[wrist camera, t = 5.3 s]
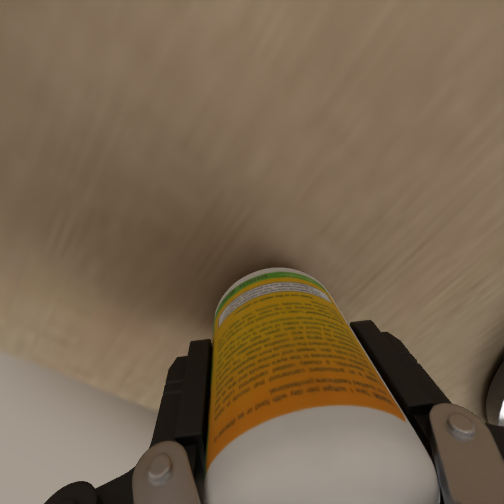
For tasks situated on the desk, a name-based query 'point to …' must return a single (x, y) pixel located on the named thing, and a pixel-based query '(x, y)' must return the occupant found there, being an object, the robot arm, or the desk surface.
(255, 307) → the supplement bottle
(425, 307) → the desk surface
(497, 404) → the plate
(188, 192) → the desk surface
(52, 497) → the robot arm
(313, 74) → the desk surface
